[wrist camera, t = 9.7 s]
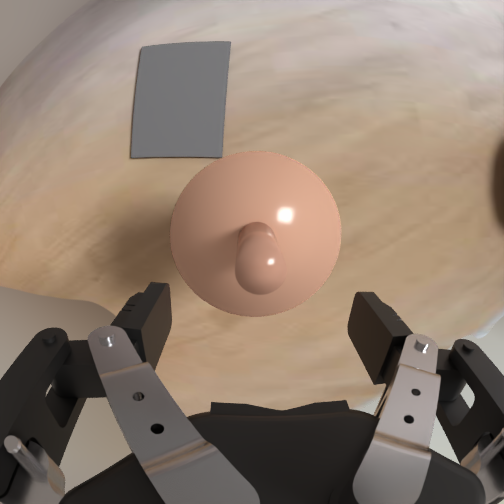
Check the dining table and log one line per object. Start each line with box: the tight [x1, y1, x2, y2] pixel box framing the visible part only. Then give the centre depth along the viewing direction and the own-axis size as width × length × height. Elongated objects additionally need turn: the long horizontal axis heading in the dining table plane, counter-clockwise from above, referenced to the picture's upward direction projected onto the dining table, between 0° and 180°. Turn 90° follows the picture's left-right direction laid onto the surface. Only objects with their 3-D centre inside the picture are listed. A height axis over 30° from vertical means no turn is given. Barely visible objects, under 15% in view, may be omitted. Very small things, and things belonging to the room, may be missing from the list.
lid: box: [170, 151, 341, 317], centre depth 19 cm, size 13×13×7 cm
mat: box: [131, 41, 231, 158], centre depth 31 cm, size 16×12×1 cm
